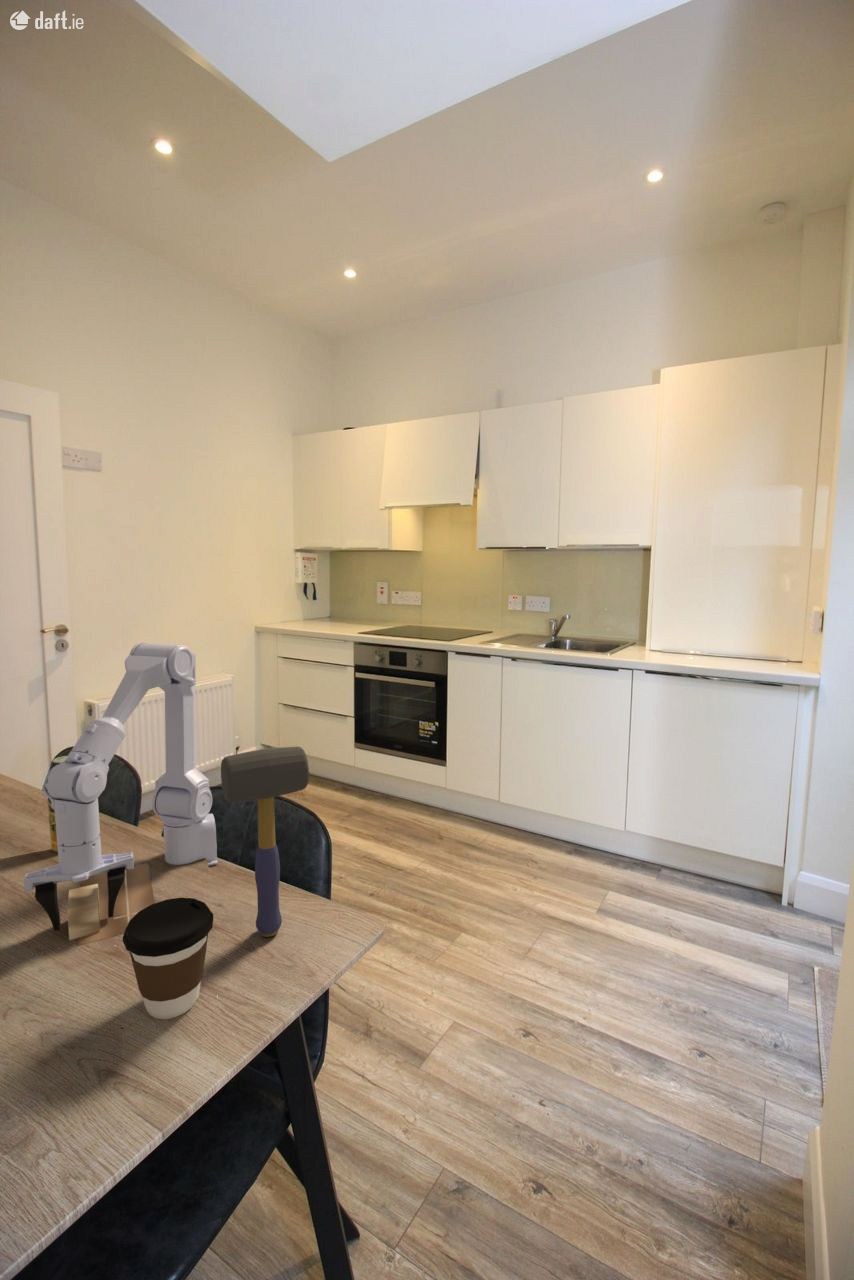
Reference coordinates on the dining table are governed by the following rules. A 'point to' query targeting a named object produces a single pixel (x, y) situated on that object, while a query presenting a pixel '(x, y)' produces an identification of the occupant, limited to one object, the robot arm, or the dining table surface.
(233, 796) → the rubber mallet
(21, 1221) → the dining table surface
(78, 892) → the light wooden block
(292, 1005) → the dining table surface
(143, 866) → the walnut board
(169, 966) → the coffee cup
